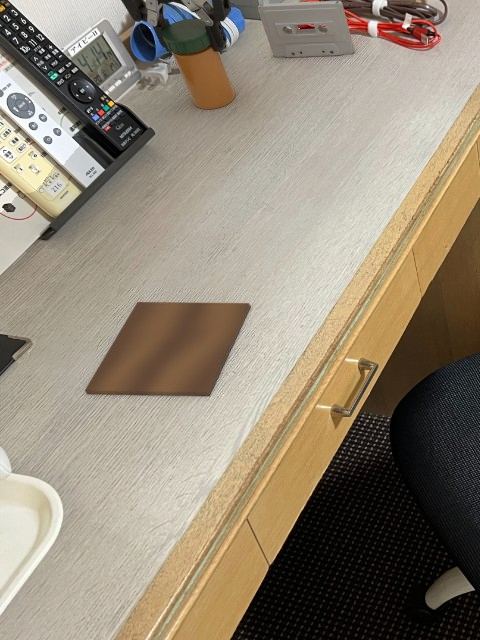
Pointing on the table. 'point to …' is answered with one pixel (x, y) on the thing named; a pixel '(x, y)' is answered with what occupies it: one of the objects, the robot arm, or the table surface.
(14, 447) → the table surface
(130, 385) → the coaster
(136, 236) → the table surface
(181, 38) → the lid
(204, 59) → the jar
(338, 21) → the cassette
